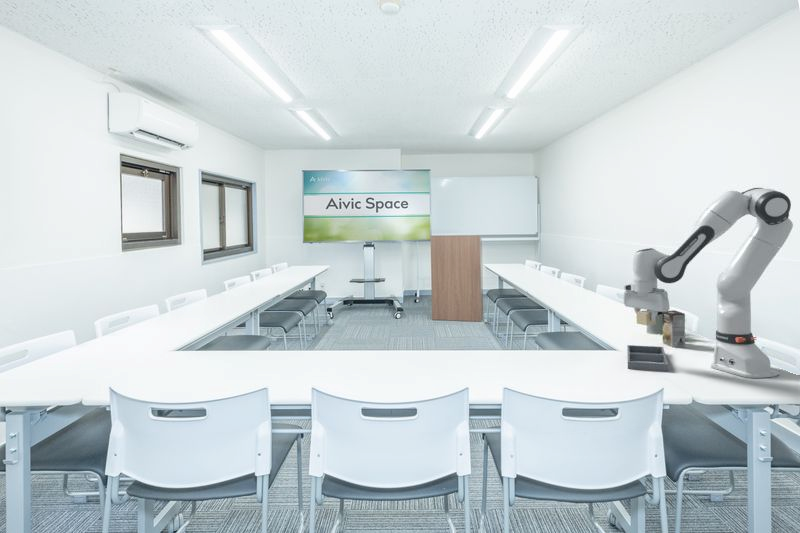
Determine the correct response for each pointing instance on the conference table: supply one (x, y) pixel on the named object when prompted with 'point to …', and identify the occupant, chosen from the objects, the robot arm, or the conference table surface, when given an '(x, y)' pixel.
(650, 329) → the grey mug
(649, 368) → the divided bin
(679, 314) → the coffee box
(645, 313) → the sandstone block
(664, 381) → the conference table surface
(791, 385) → the conference table surface
